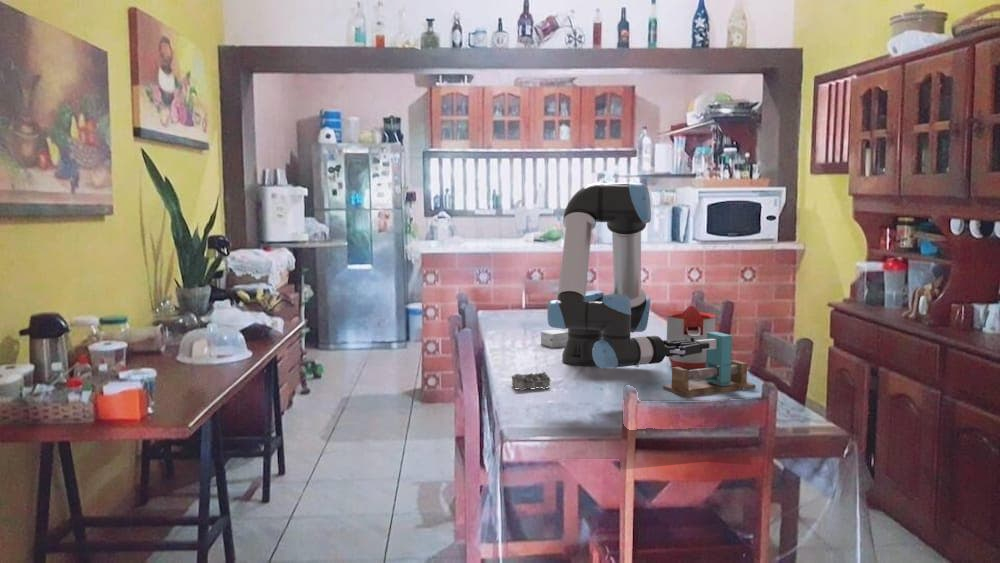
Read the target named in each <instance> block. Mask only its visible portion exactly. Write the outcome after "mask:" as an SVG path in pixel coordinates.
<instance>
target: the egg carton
mask: <svg viewBox="0 0 1000 563" xmlns="http://www.w3.org/2000/svg"><path fill="white" fill-rule="evenodd" d="M511 379H512V381H511V383H512V384H511V386H512V385H513V386H515V387H514V389H515V388H519V389H524V388H536V387H543V388H546V387H548V386H551V385H550V382H552V379H550V377H549V376H548V374H547V373H546V372H545V371H543V372H539V373H535V374H533V373H529V374H519V373H515V374H514V375H512V376H511ZM513 386H512V387H513Z"/></svg>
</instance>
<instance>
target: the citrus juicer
mask: <svg viewBox="0 0 1000 563" xmlns="http://www.w3.org/2000/svg"><path fill="white" fill-rule="evenodd" d="M666 316H667V317H666V318H667V319H666V340H684V339H687V340H688V341H689V340H691V338H694V342H695V340H704V339H707V333H708V332H716V318H717V315H716V314H713V313H710V312H704V311H699V310H698V309H697V308H696V307H695V306H694V305H692V304H691V305H689V306H687V307H686V308H685V310H681V311H670V312H667V313H666ZM668 359H669V360H668V361H670V364H671V366H672V367H680V368H684V369H686V370H694V369H702V368H706V350H702V352H701V353H700V354H698V353H696V354H691V355H686V356H684V357H680V356H679V355H673V356H672V357H668Z"/></svg>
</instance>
